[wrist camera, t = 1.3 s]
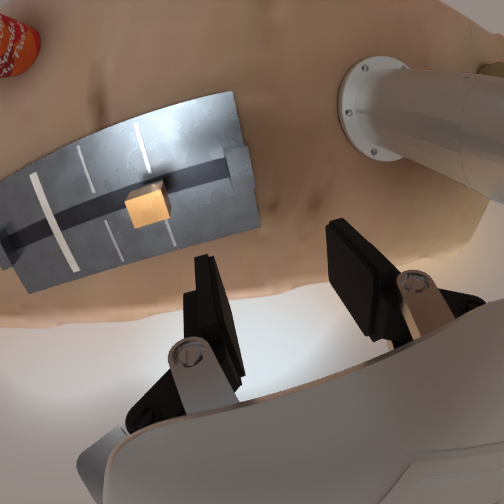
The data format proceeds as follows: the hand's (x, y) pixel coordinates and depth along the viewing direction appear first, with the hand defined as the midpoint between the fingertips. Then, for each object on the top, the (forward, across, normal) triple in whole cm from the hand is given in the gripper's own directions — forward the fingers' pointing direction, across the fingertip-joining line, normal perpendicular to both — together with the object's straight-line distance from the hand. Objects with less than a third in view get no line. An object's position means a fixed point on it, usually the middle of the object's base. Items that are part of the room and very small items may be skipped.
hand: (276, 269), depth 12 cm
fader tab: (+17, +7, 0) cm, 18 cm away
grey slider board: (+19, +13, 0) cm, 23 cm away
